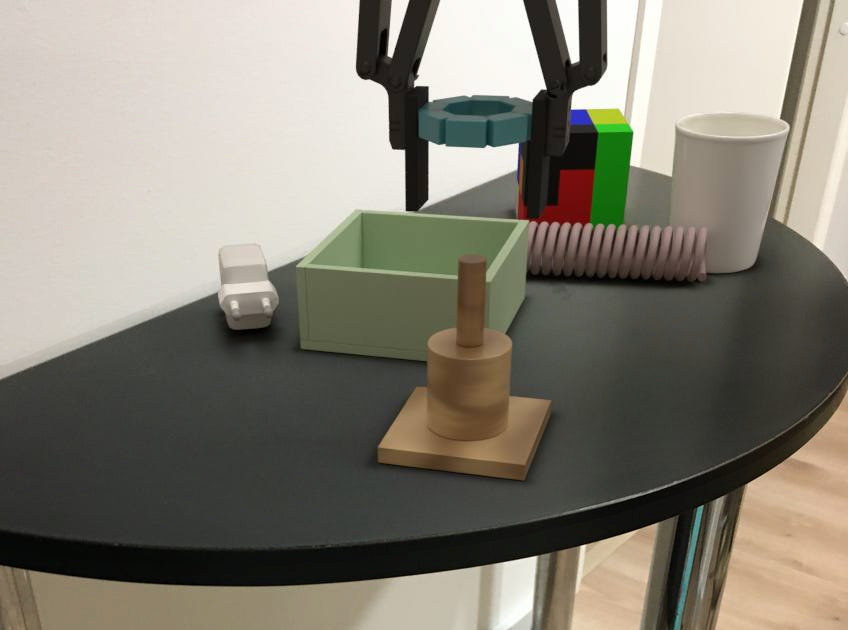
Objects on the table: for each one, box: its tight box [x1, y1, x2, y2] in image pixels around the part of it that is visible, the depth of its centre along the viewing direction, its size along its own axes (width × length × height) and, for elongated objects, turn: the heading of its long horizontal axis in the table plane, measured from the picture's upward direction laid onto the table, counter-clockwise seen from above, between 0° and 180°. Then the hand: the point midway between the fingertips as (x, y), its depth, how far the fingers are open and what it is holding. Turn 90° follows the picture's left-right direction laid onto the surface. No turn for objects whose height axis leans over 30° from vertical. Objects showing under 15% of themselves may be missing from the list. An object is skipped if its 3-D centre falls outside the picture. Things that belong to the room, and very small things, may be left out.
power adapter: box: [217, 243, 280, 331], centre depth 92 cm, size 11×5×6 cm, turn 10°
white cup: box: [667, 111, 791, 274], centre depth 102 cm, size 10×10×12 cm
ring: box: [418, 94, 533, 149], centre depth 65 cm, size 7×7×1 cm
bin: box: [295, 208, 529, 362], centre depth 93 cm, size 16×16×7 cm
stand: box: [377, 254, 552, 481], centre depth 73 cm, size 10×10×12 cm
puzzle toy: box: [514, 108, 634, 233], centre depth 112 cm, size 10×10×10 cm
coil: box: [526, 221, 708, 283], centre depth 101 cm, size 5×5×18 cm
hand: (476, 208), depth 68 cm, fingers closed on ring, 7 cm apart
